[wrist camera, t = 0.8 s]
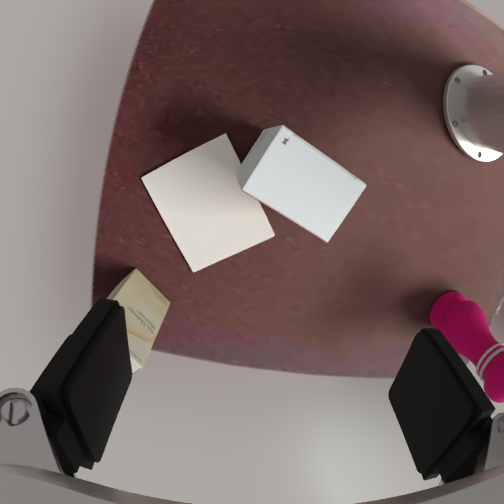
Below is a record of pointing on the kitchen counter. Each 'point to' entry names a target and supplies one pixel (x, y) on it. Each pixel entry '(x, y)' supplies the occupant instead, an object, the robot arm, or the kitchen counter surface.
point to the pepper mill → (471, 339)
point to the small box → (299, 181)
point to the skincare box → (140, 314)
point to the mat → (207, 204)
